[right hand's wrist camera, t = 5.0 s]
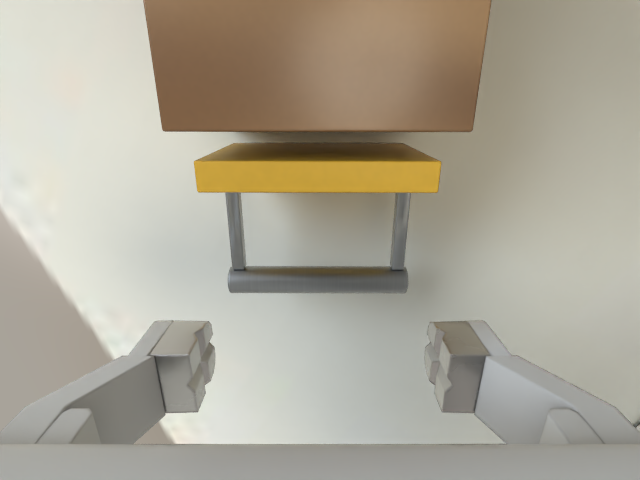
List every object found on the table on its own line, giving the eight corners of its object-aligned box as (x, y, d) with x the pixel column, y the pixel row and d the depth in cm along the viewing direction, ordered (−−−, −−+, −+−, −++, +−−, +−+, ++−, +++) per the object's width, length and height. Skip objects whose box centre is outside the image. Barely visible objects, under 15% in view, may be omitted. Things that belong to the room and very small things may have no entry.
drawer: (393, 264, 22) (422, 326, 16) (242, 264, 22) (213, 326, 16) (435, -241, 14) (521, -501, 8) (201, -242, 14) (112, -502, 8)
